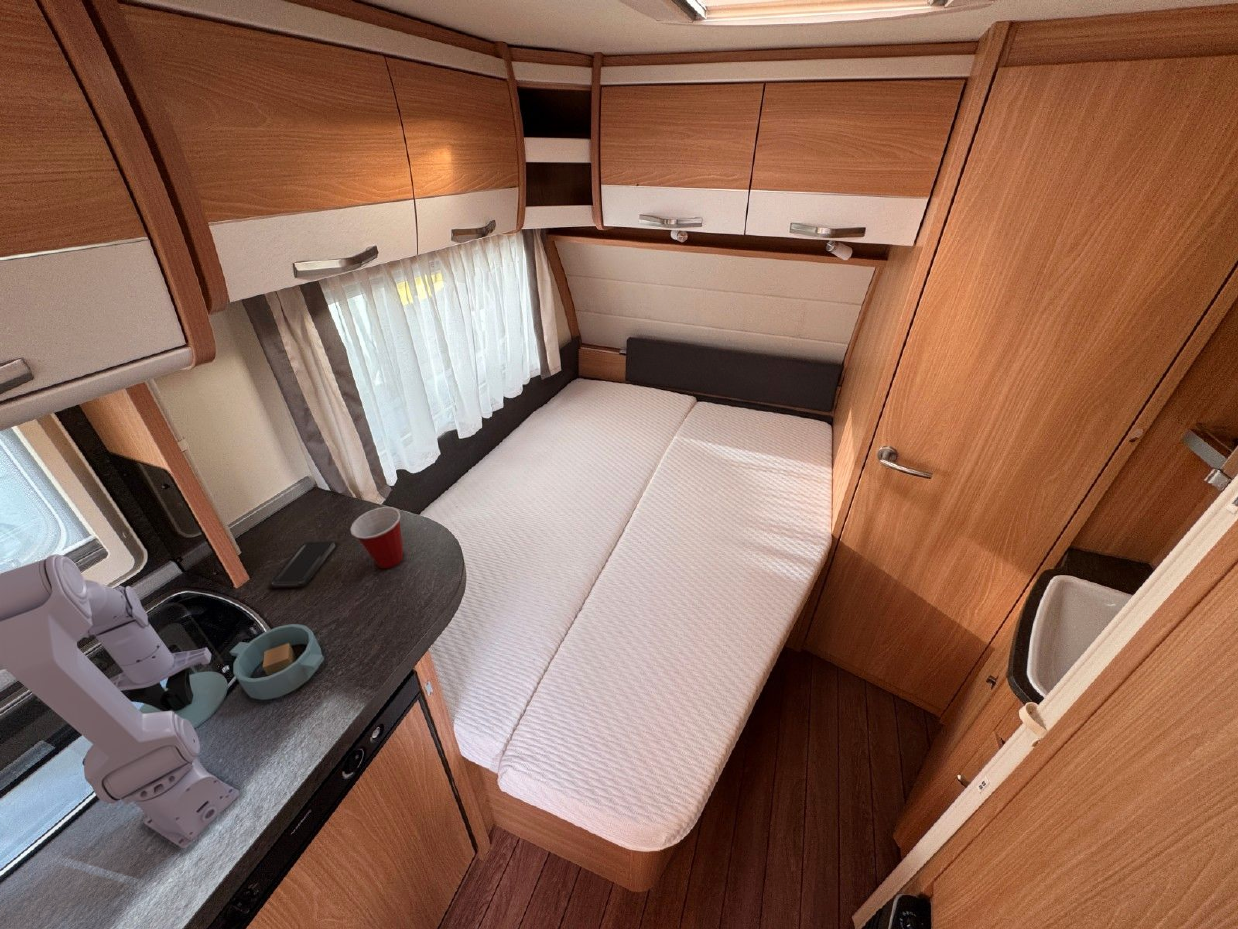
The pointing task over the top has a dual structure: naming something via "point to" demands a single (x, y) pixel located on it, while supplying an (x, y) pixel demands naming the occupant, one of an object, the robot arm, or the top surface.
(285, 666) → the block
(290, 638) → the pot
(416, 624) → the top surface
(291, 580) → the phone
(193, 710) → the lid
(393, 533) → the plastic cup
